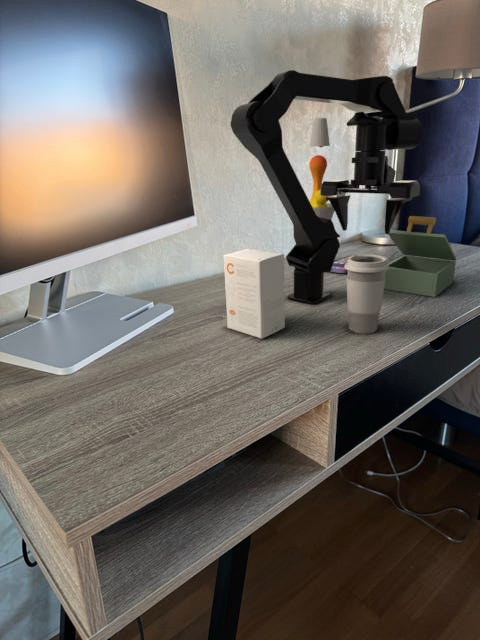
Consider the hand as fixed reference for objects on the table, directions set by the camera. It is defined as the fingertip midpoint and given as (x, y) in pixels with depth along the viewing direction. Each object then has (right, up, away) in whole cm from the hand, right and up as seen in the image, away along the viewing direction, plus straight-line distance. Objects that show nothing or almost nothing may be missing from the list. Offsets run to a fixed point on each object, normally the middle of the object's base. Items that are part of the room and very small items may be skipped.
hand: (365, 232), depth 91 cm
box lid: (+12, -3, +2) cm, 13 cm away
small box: (-23, -20, -15) cm, 34 cm away
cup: (-5, -20, -17) cm, 26 cm away
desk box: (+12, -11, +5) cm, 17 cm away
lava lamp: (-5, -3, +26) cm, 27 cm away
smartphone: (+2, -5, +22) cm, 22 cm away
